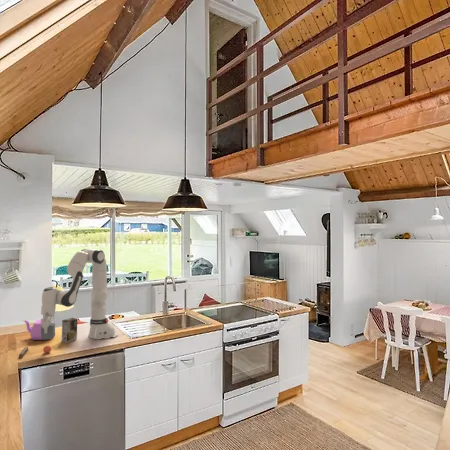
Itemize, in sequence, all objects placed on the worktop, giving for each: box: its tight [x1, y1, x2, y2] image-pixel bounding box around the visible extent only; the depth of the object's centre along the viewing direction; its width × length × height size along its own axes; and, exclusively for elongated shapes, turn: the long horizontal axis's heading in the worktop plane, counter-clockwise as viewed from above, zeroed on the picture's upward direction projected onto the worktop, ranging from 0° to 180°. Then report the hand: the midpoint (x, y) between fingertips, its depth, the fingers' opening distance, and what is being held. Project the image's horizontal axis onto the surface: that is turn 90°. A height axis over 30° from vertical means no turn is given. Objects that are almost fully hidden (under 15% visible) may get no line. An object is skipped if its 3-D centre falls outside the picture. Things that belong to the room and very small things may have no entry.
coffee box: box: [61, 317, 78, 343], centre depth 266 cm, size 9×6×16 cm
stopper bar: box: [18, 346, 29, 359], centre depth 235 cm, size 2×14×2 cm, turn 17°
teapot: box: [22, 317, 54, 341], centre depth 271 cm, size 23×21×15 cm
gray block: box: [41, 322, 56, 341], centre depth 239 cm, size 7×7×9 cm
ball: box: [42, 344, 52, 354], centre depth 239 cm, size 5×5×5 cm
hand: (47, 331), depth 239 cm, fingers closed on gray block, 7 cm apart
